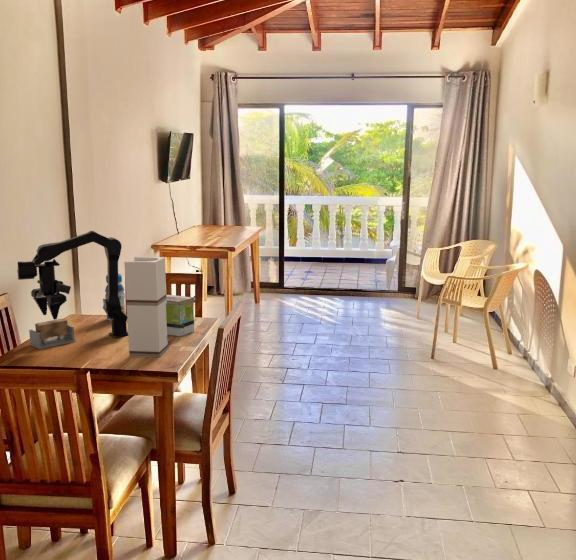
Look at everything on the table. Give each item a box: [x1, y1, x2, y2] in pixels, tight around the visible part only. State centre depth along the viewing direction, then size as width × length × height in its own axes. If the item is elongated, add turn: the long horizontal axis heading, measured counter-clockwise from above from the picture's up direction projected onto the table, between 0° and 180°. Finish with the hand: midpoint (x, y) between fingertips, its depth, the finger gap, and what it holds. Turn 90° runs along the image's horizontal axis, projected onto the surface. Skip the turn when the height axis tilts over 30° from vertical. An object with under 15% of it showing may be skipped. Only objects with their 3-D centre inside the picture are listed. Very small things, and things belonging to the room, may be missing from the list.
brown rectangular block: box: [34, 318, 69, 340], centre depth 245 cm, size 11×4×6 cm, turn 134°
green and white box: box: [166, 294, 195, 337], centre depth 259 cm, size 15×10×15 cm, turn 63°
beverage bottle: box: [104, 273, 126, 322], centre depth 280 cm, size 8×8×20 cm
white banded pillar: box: [123, 256, 170, 358], centre depth 230 cm, size 11×11×35 cm
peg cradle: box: [28, 323, 76, 350], centre depth 245 cm, size 14×9×6 cm, turn 134°
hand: (50, 317), depth 244 cm, fingers open, 9 cm apart
